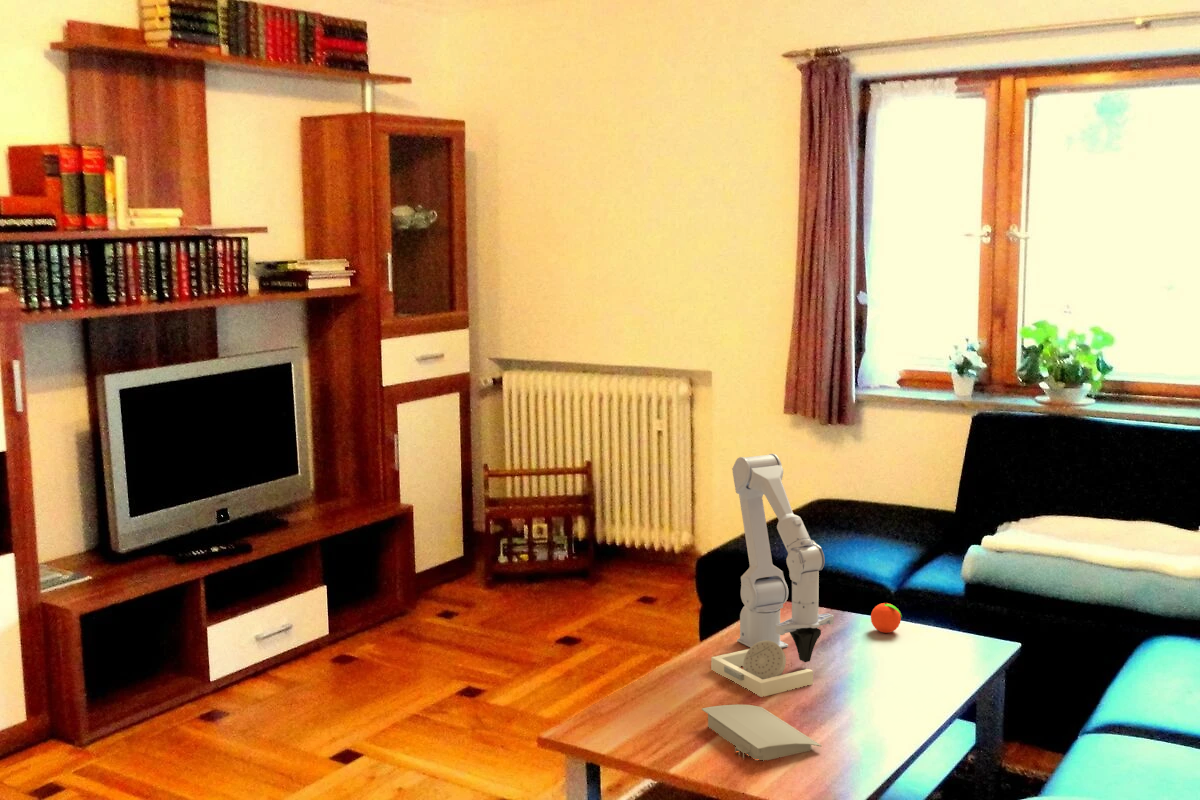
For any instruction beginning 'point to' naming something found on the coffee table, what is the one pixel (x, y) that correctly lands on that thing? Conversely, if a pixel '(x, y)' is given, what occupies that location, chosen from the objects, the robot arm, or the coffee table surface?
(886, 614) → the clementine
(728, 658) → the dock
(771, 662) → the showerhead
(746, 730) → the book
